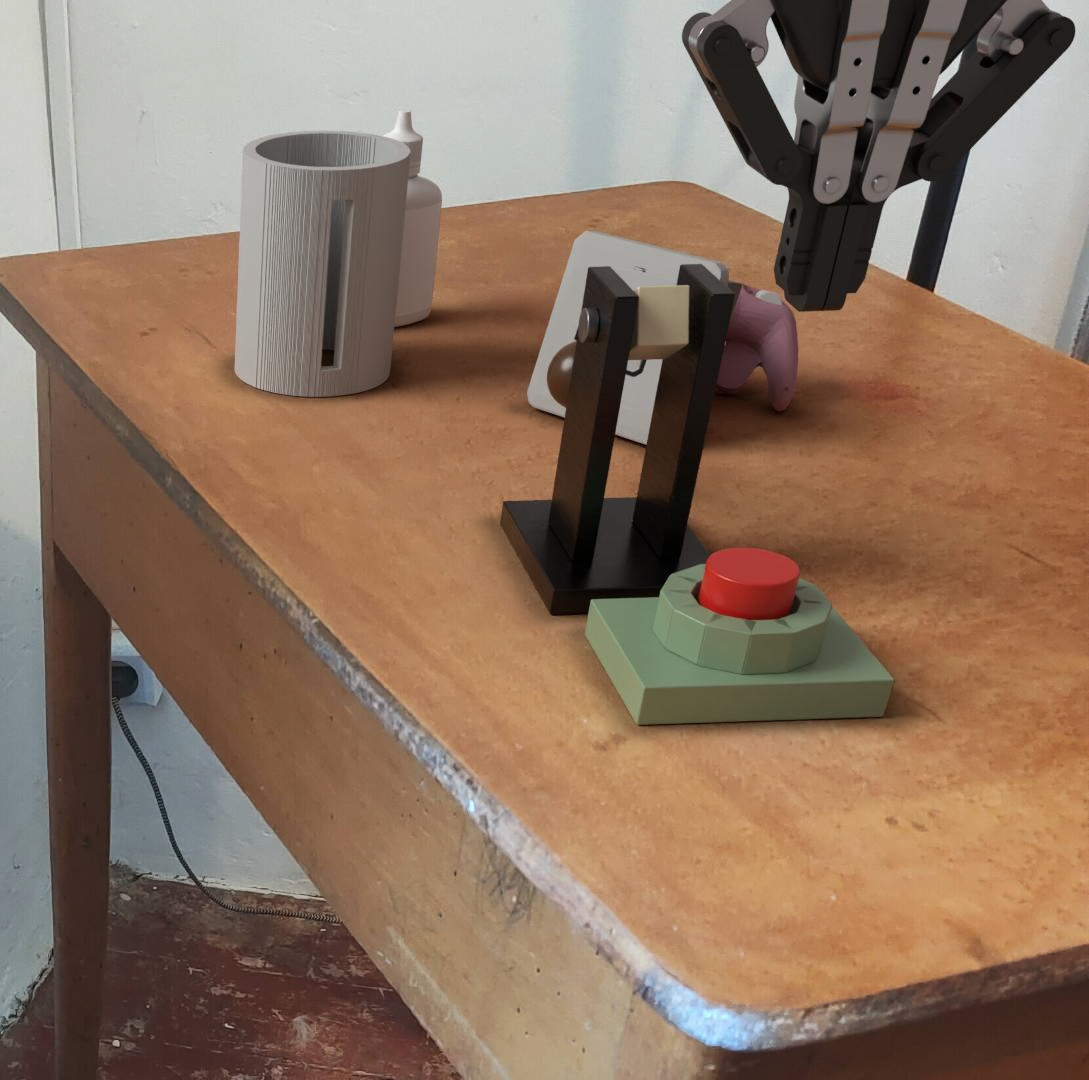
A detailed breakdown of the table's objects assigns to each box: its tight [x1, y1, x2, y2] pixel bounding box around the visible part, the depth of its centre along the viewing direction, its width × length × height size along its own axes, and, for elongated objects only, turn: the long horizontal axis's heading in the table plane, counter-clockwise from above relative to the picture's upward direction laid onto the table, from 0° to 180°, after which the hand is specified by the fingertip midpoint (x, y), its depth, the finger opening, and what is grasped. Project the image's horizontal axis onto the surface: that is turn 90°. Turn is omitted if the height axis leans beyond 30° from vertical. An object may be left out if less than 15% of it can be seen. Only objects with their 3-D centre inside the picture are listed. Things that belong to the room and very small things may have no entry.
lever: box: [547, 285, 690, 408], centre depth 80 cm, size 13×3×3 cm
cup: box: [234, 130, 411, 398], centre depth 99 cm, size 9×9×12 cm
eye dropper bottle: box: [382, 109, 443, 328], centre depth 107 cm, size 4×6×12 cm
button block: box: [584, 564, 895, 726], centre depth 72 cm, size 10×8×4 cm
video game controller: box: [715, 281, 799, 412], centre depth 98 cm, size 10×5×7 cm, turn 79°
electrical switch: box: [526, 230, 743, 446], centre depth 94 cm, size 9×5×9 cm, turn 39°
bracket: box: [499, 264, 735, 615], centre depth 78 cm, size 10×8×13 cm
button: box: [699, 547, 801, 620], centre depth 70 cm, size 4×4×2 cm
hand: (812, 304), depth 64 cm, fingers closed
